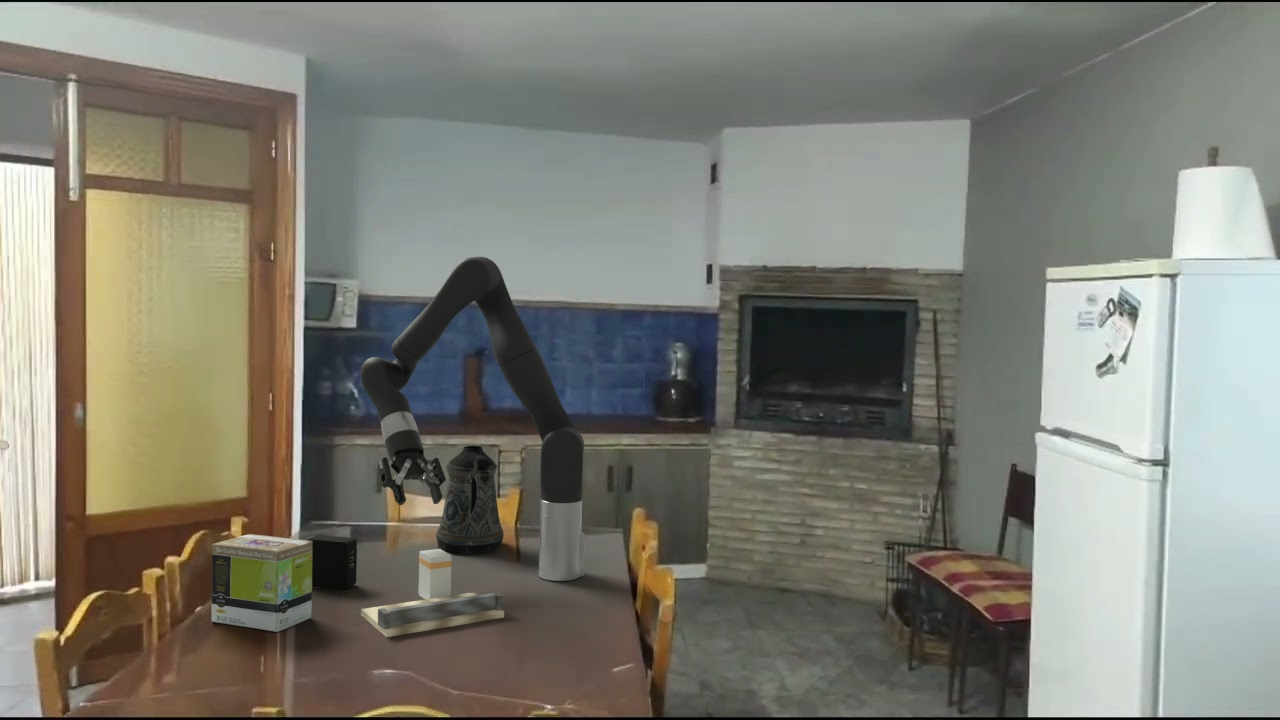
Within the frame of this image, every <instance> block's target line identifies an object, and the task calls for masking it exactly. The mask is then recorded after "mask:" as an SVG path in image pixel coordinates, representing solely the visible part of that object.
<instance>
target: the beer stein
mask: <svg viewBox="0 0 1280 720" xmlns="http://www.w3.org/2000/svg"><path fill="white" fill-rule="evenodd" d="M445 468H446V473H447V474H448V481H447V488H446V494H445V498H444V499H445V500H444V505H443V511H442V516H441V519H440V524H439V526H438V528H437V531H436V533H435V538H436V541H437V549H438V548H439V549H441V550H443V551H445V552H446V553H448V554H451V555H452V554H453V555H464V556H465V555H481V554H490V553H494V552H497V551H498V550H500V549H502V544H503V539H504V535H505V534H504V529H503V527H502V524H501V521H500V516H499V510H498V509H499V508H498V501H497V494H496V483H495V474H496V472H497V468H498V465H497V464H496V462H495V461H494V460H493V459H492V458H491V457H490V456H489V455H487V453H485V451H484V450H483V447H482V446H481V445H480V446H479V445H466V446H463V448H462V451H460V452H459V453H458V454H457V455H455V456H454V457H453V458H452V459H451V460H449V461H448V462H447V464H446V466H445Z"/></svg>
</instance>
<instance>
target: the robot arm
mask: <svg viewBox="0 0 1280 720" xmlns="http://www.w3.org/2000/svg"><path fill="white" fill-rule="evenodd" d="M512 300H513V299H512V298H511V296H510V293H509V290H508V288H507V285H506V282H505V280H504V277H503V274H502V271H501V269H500V268H499V266H498V264H496V262H495V261H494V260H492V259H490V258H488V257H484V256H472V257H466V258H463V259H462V260H460V261H459V262H458V263H457V264H456V265H455V266H454V268H453V269H452V271H451V272H450V273H449V275H448V277H447V278H446V280H445V281H444V283H443V285H442V286H441V288H440V289H439V290H438V292H437V293H436V295H435V296H434V297H433V298H432V300H431V301H430V302H429V303H428V305H427V306H426V307H425V308H424V309H423V310H422V311H421V312H420V313H419V314H418V315H417V317H416V318H415V319H414V320H413V321H412V322H411V323H410V324H409V325H408V326H407V327H406V328H405V329H404V330H403V331H402V333H401V334H400V335H399V336H398V337H397V338H396V339H395V340H394V341H393V343H392V344H391V351H392V352H391V353H392V354H393V355H394V357H395V358H396V359H394V360H393V361H390V360H387V359H385V358H383V357H382V358H381V357H379V356H378V357H376V356H374V357H369V358H367V359H366V360H365V361H364V362H363V364H362V366H361V367H360V368H361V370H360V381H361V385H362V386H363V388H364V390H365V392H366V394H367V396H368V397H369V399H370V400H371V403H372V404H373V405H374V407H375V409H376V412H377V415H378V420H379V423H380V426H381V434H382V435H381V436H382V439H383V442H384V446H385V449H386V453H387V457H386V456H384V457H383V458H382V459H381V460H380V461H379V462H378V463H377V468H378V472H379V479H380V482H381V486H382V487H383V488H385V489H386V488H390V490H391V491H392V495H393V497H394V501H395V503H397V504H398V506H403V505H404V504H405V503H406V502H407V498H406V495H405V491H404V487H403V485H402V482H403V479H404V480H405V481H409V480H414V481H417V480H418V481H419V482H420V483H422V484H425V485H426V486H427V487H428V488H429V492H430V496H431V500H432V503H433V504H434V505H438V504H439V503H441V501H442V499H443V494H442V492H441V488H440V487H441V486H442V485H443V484H444V483H445V482H446V481H447V477H446V476H445V472H444V471H443V467H442V465H441V462H440V459H439V458H438V457H434V458H433V459H427V458H426V457H425V454H424V453H425V452H424V450H425V449H424V445H423V443H422V440H421V439H422V438H421V436H420V433H419V430H418V426H417V423H416V421H415V419H414V416H413V413H412V410H411V406H410V403H409V400H408V398H407V397H406V395H405V394H404V393H402V392H401V391H402V390H403V388H405V387H406V385H407V384H408V382H409V381H410V379H411V377H412V376H413V374H414V371H415V369H416V368H417V366H418V364H419V362H420V361H421V360H422V359H423V358H424V357H425V356H426V355H427V353H428V352H430V350H431V349H433V347H434V346H435V345H436V344H437V342H438V341H439V340H440V338H442V336H443V334H444V333H445V331H446V329H447V328H448V327H449V325H450V324H451V322H452V321H453V319H455V318H456V316H458V314H459V313H460V312H462V311H463V310H464V309H465V308H466V307H467V306H470V304H472V303H474V302H475V304H476V305H477V306H478V308H479V309H480V312H481V314H482V315H483V318H484V319H485V321H486V324H487V328H488V331H489V336H490V340H491V347H492V351H493V355H494V357H495V360H496V362H497V366H498V368H499V369H500V371H501V372H502V375H503V377H504V379H505V381H506V383H507V384H508V386H509V388H510V389H511V390H512V392H513V393H514V395H515V396H516V398H517V399H518V400H519V402H520V403H521V404H522V406H523V407H524V408H525V409H526V411H527V412H528V414H529V415H530V417H531V419H532V420H533V422H534V425H535V428H536V430H537V432H538V434H539V438H540V440H541V447H540V471H539V472H540V473H539V474H540V475H539V477H540V478H539V479H540V480H539V481H540V482H539V487H540V511H539V512H540V515H539V543H538V545H539V547H538V548H539V549H538V550H539V552H538V577H539V578H540V579H544V580H546V581H555V582H564V581H565V582H567V581H572V580H577V579H578V578H580V577H585V576H584V573H585V571H584V570H585V546H586V545H585V544H586V543H585V542H586V535H585V533H584V532H582V522H583V521H582V516H583V514H582V513H583V492H584V491H583V489H584V488H583V475H584V474H583V470H584V469H583V467H584V453H585V442H584V439H583V435H581V433H580V432H579V430H578V429H577V427H576V426H575V424H574V423H573V421H572V420H571V418H570V416H569V415H568V413H567V411H566V410H565V408H564V407H563V404H562V403H561V400H560V398H559V396H558V393H557V390H556V389H555V386H554V383H553V381H552V378H551V376H550V373H549V371H548V368H547V367H546V364H545V362H544V360H543V358H542V356H541V353H540V352H539V350H538V348H537V346H536V344H535V342H534V340H533V338H532V337H531V336H530V333H529V331H528V330H527V328H526V325H525V324H524V322H523V320H522V318H521V316H520V315H519V313H518V311H517V310H516V308H515V305H514V303H513V301H512ZM391 469H392V470H393V471H394V472H395V475H394V478H393V477H392V472H391ZM425 474H426V476H424V475H425Z"/></svg>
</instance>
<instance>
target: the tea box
mask: <svg viewBox="0 0 1280 720" xmlns="http://www.w3.org/2000/svg"><path fill="white" fill-rule="evenodd" d="M211 548H212V549H211V622H212V623H213V622H214V623H218V624H225V625H230V626H231V625H232V626H237V627H245V628H252V629H257V630H263V631H268V632H276V633H277V632H280V631H283V630H286V629H289V628H290V627H293V626H295V625H298V624H301V623H303V622H305V621H307V620H309V619H311V618H312V603H313V602H312V601H313V587H312V541H309V540H306V539H297V538H289V537H288V538H287V537H281V536H271V535H261V534H252V533H248V534H245V535H240V536H237V537H233V538H230V539H226V540H222V541H217V542H216V543H212V544H211Z"/></svg>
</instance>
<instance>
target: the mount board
mask: <svg viewBox="0 0 1280 720" xmlns="http://www.w3.org/2000/svg"><path fill="white" fill-rule="evenodd" d="M360 615H361V617H362V618H363V619H364V620H366V622H368V623H370V625H371V626H372V627H373V628H375V629H376V630H377V631H378V632H380V633H381V634H382V635H383V636H384V637H385V638H391V637H396V636H398V637H399V636H402V635H403V636H404V635H408V634H416V633H419V632H420V633H421V632H426V631H431V630H437V629H444V628H449V627H456V626H462V625H467V624H472V623H474V624H475V623H480V622H484V621H490V620H496V619H504V618H505V610H504V595H503V594H502V593H500V592H499V591H495V590H494V591H490V593H484V594H477V593H475V592H466V593H459V594H454V595H453V594H451V596H445V597H439V598H432V599H419V600H414V601H413V600H412V601H406V602H400V603H393V604H387V605H379V606H374V607H373V606H372V607H368V608H367V607H366V608H361V610H360Z"/></svg>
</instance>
